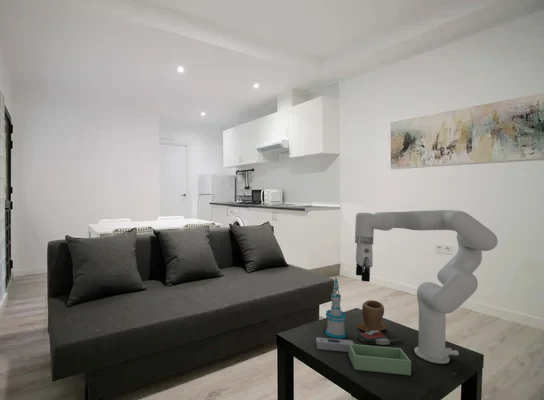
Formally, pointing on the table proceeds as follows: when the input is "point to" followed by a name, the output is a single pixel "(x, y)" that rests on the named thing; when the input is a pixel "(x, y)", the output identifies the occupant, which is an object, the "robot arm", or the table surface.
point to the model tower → (335, 315)
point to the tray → (379, 359)
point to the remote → (333, 344)
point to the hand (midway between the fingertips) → (362, 278)
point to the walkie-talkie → (375, 338)
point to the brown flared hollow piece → (372, 316)
